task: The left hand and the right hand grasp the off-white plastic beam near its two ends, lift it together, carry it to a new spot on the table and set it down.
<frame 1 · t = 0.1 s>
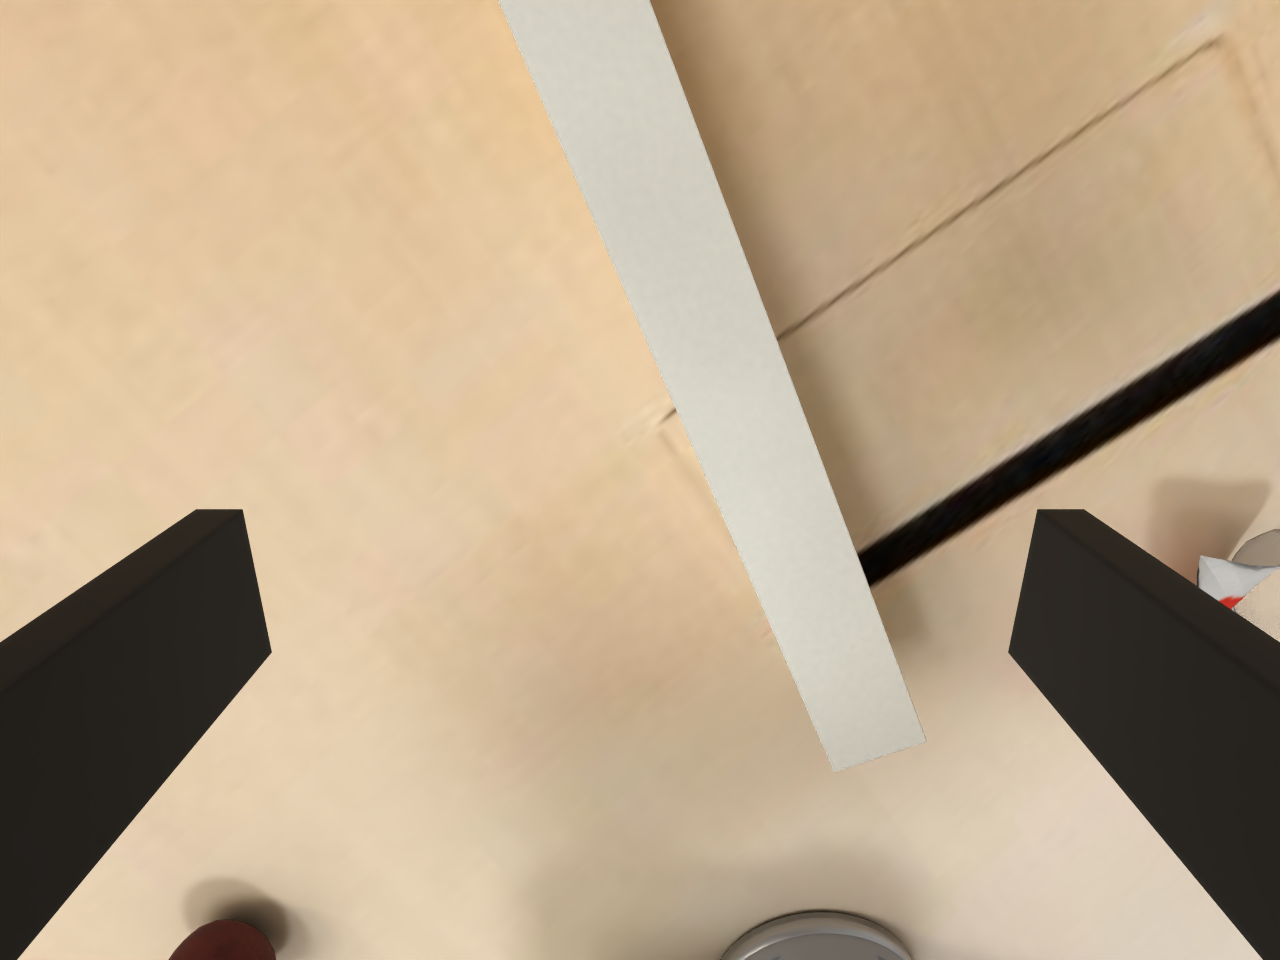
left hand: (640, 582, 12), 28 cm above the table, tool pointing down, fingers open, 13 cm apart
fish: (1141, 600, 44), on the table
dark red ball: (246, 933, 54), on the table
beam: (600, 75, 34), on the table
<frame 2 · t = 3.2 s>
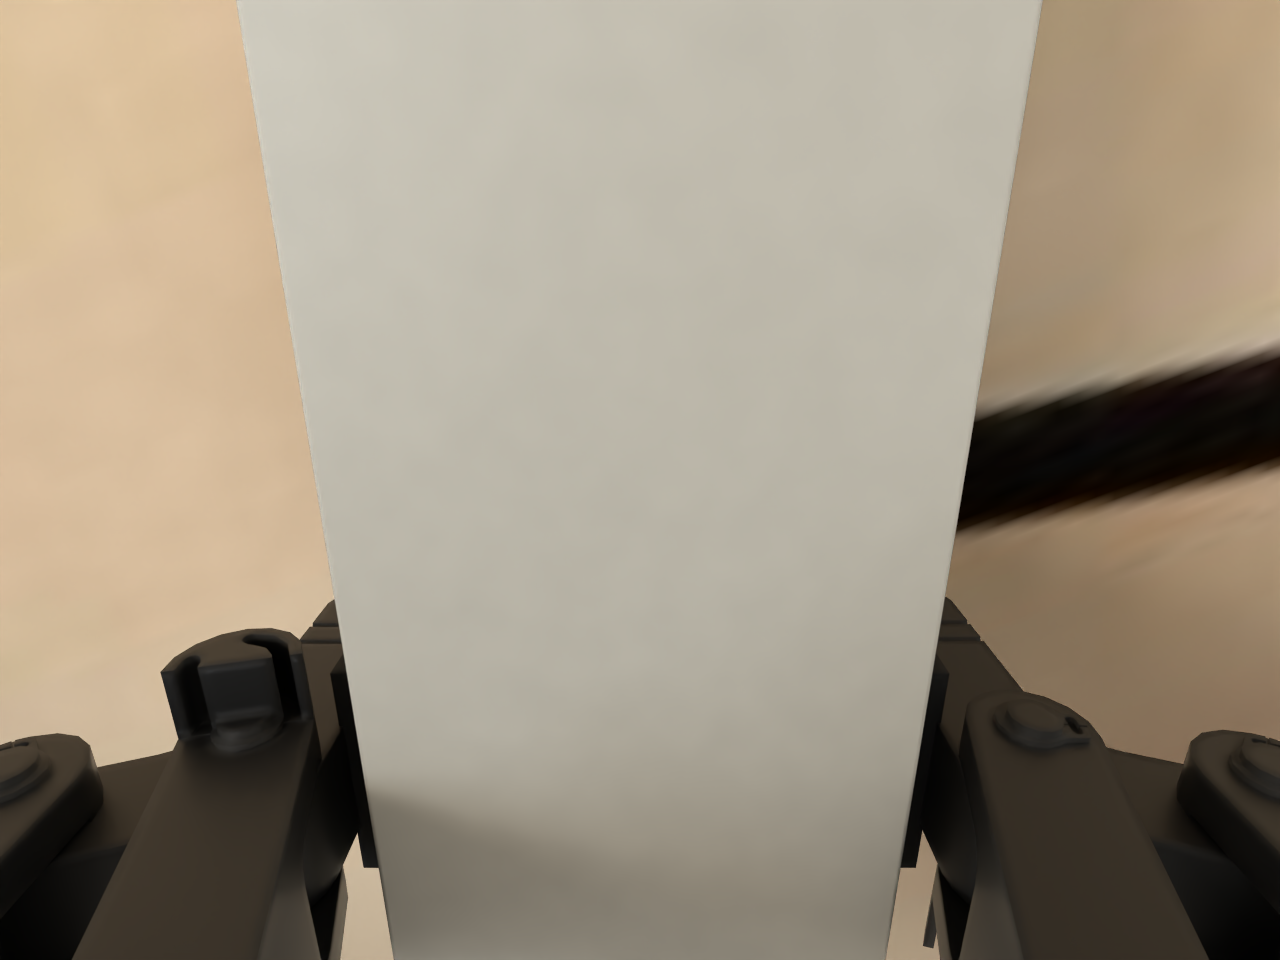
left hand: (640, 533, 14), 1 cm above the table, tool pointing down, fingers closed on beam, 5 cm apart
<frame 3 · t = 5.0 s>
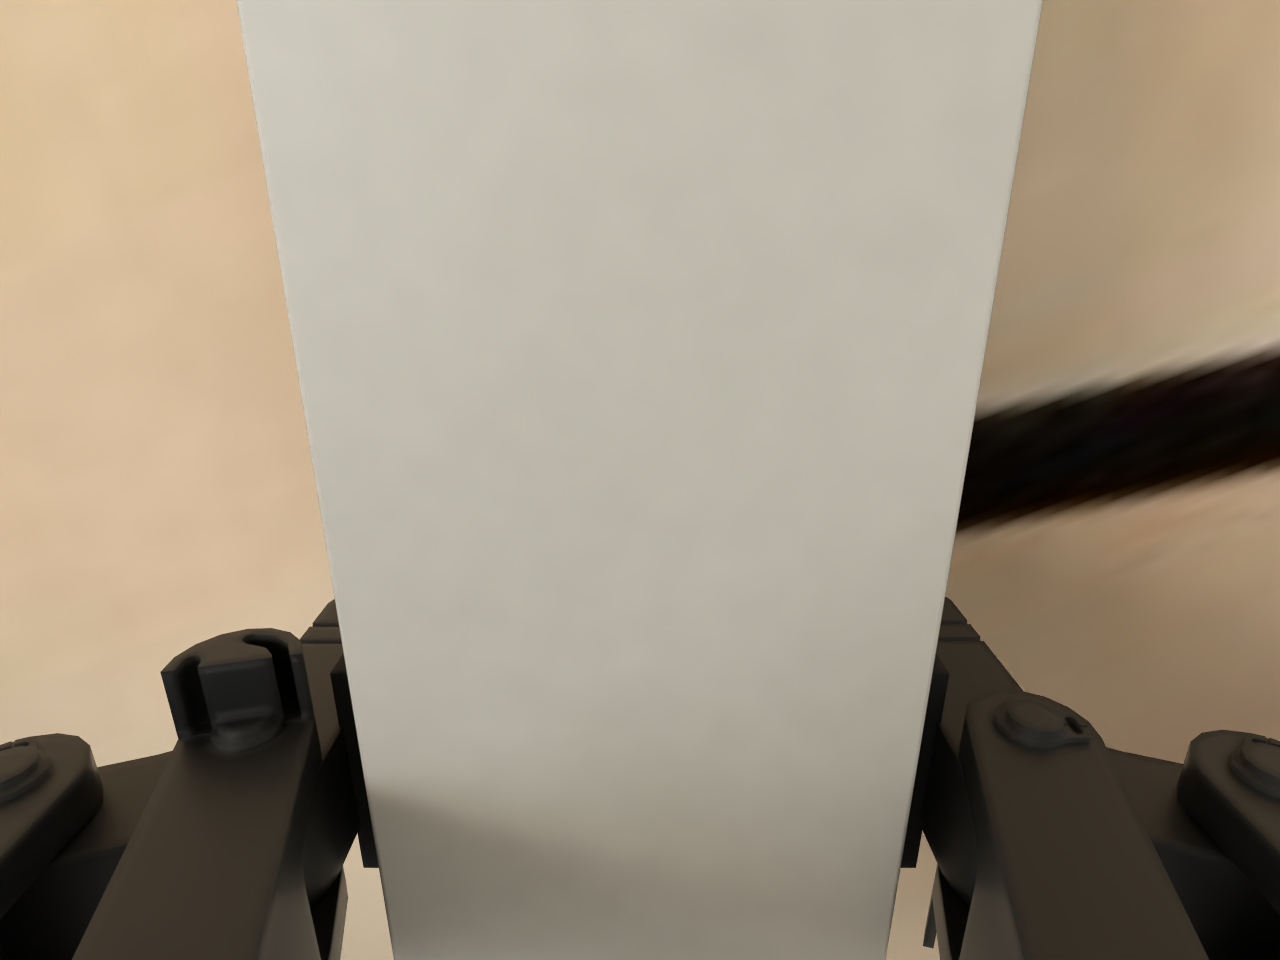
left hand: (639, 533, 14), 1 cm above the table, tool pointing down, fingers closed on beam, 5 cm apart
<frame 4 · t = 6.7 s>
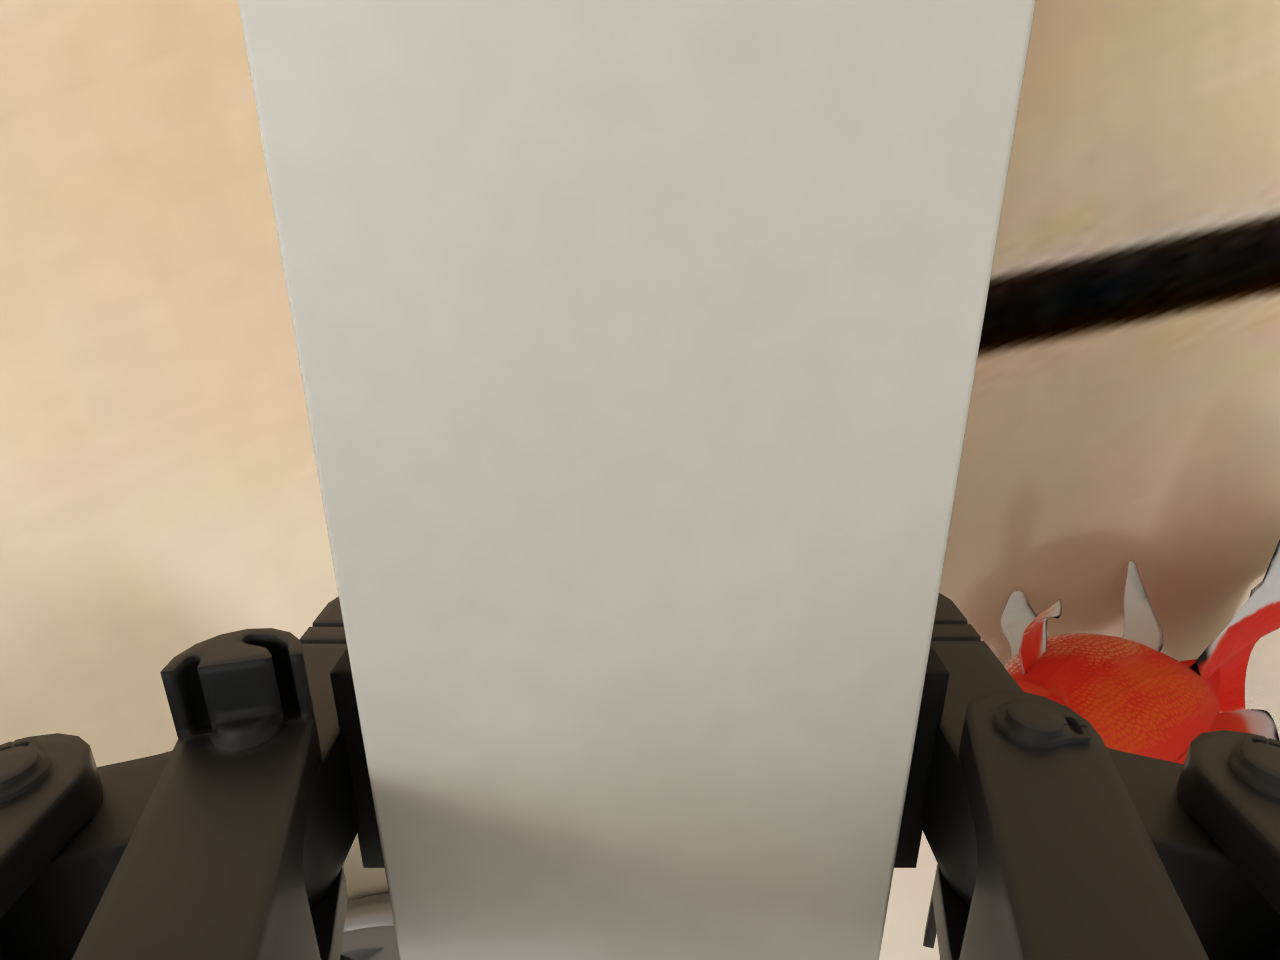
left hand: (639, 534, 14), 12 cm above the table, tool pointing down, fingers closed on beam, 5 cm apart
fish: (1117, 593, 28), on the table
when the left hand's fingers open (2 cm above the table, at t = 10.3 s): beam drops 1 cm, on the table.
when the right hand's fingers open (5 cm above the table, at t = 10.5 s): beam stays where it is, on the table.
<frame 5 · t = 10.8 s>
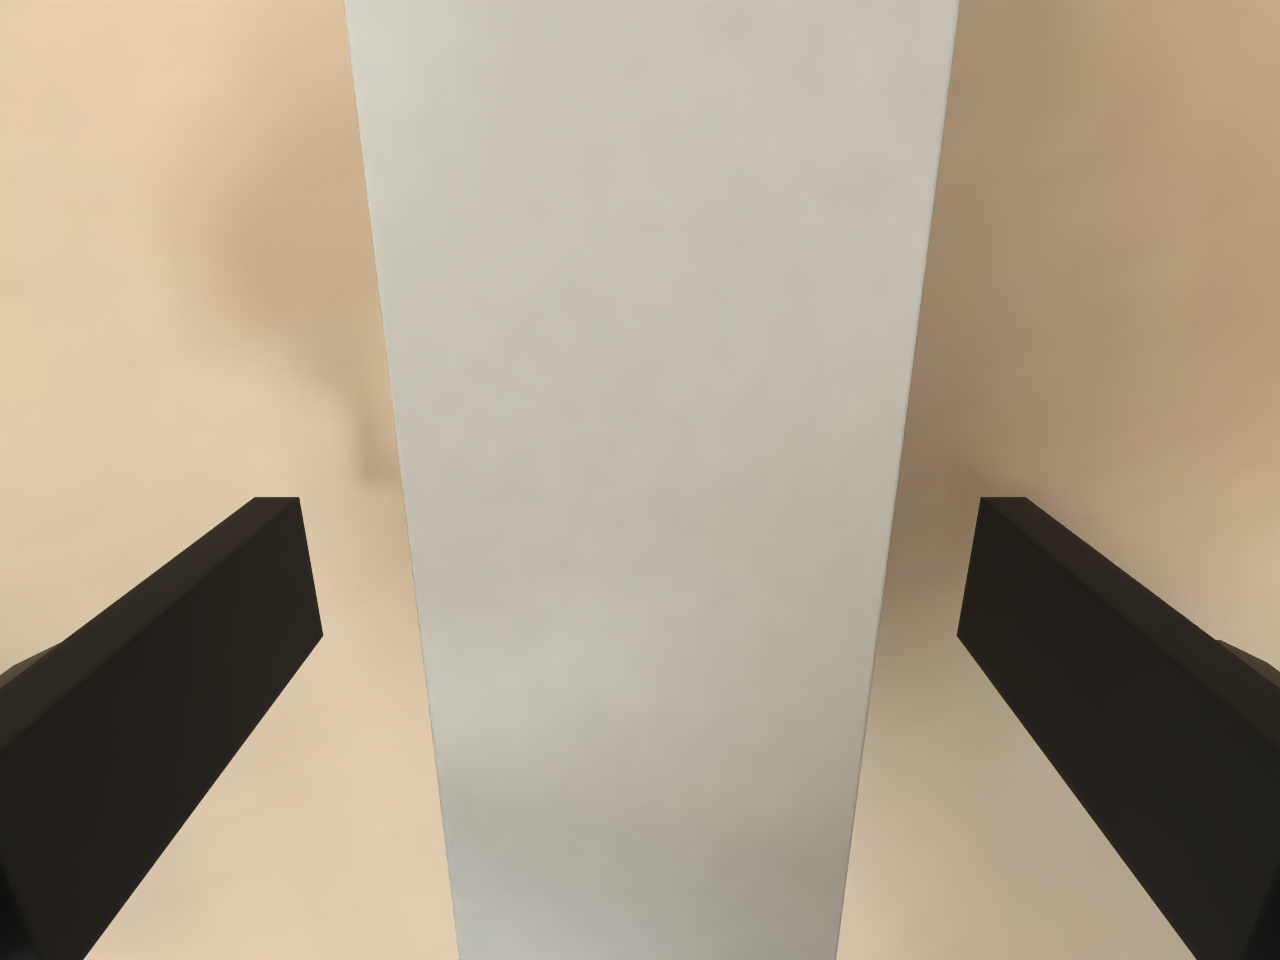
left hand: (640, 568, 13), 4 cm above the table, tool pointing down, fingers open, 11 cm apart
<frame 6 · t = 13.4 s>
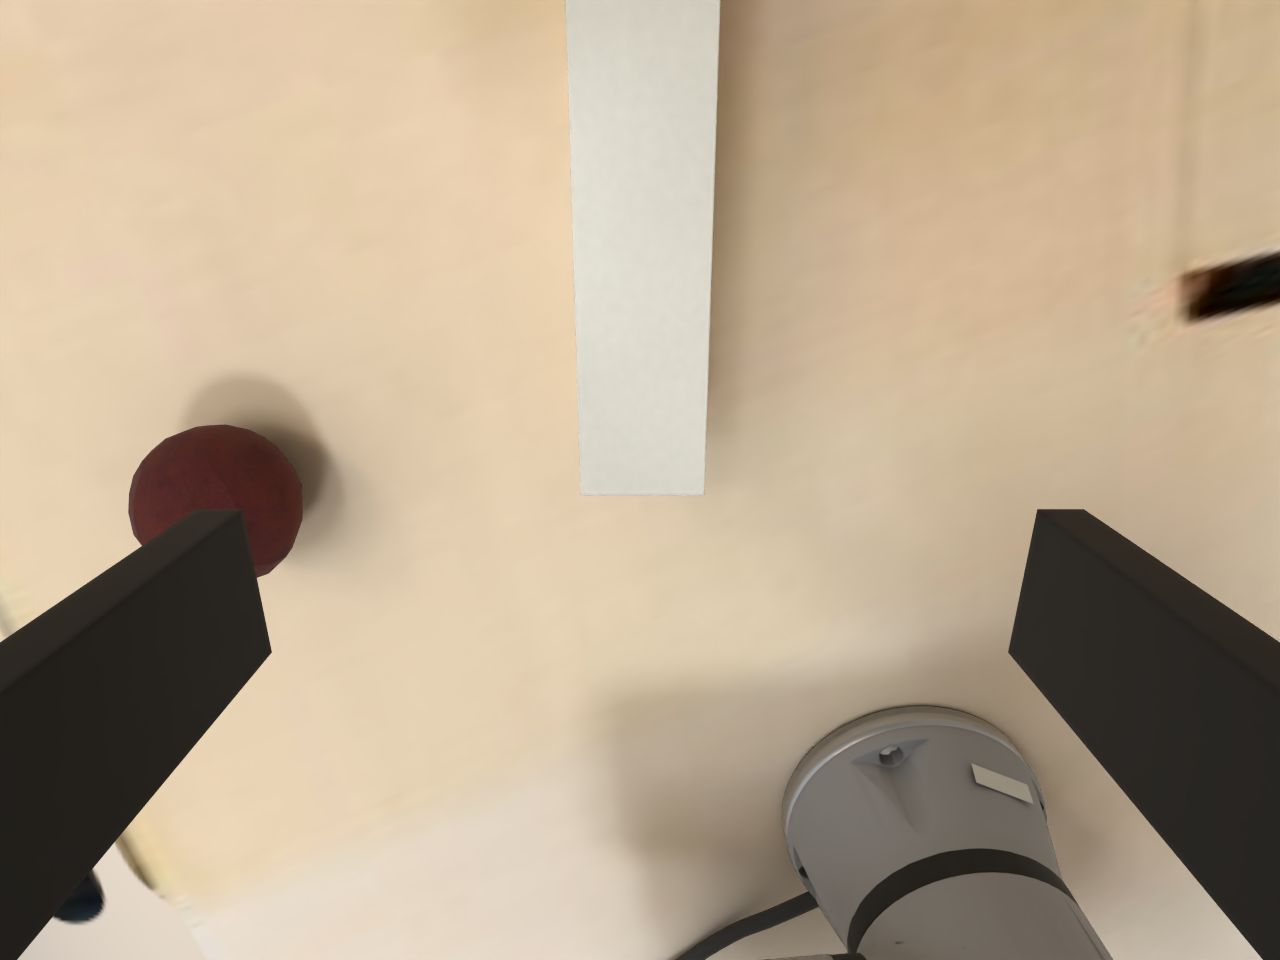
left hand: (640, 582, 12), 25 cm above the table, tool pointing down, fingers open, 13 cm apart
dark red ball: (257, 479, 38), on the table
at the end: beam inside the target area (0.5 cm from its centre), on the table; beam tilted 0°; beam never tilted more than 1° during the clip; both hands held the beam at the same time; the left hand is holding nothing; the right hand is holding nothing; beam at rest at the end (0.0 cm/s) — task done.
